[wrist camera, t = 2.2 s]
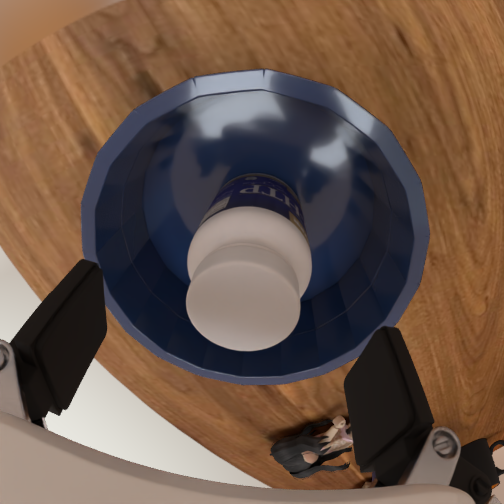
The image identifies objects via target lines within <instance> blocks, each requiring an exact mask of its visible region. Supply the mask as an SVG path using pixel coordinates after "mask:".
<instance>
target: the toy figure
mask: <svg viewBox="0 0 504 504" xmlns="http://www.w3.org/2000/svg"><path fill="white" fill-rule="evenodd" d="M322 420H323V419H322ZM331 421H332V422H333V423H334V425H333V426H332V427H331V428H330V429H329V430H328V431H327V432H325V433H322V434H319V435H316V436H314V437H313V436H311V434H312V433H313V432H314V431H317V430H314V431H313V432H312V433H311V434H309V435H307V434H308V433H309V432H310V431H311V430H312V429H313V428H314V427H320V426H324V425H326V424H328V423H331ZM311 423H313V422H311ZM345 423H346V420H345V419H344V418H343V417H342V416H341V415H339V416H337V417H336V418H334V420H328V419H327V420H326V419H325V420H324V421H322V422H320V423H314V424H310V425H308V426H307V427H305V429H304V430H303V429H302V430H303V431H302V430H301V431H302V433H301V434H299V435H295V434H294V435H295V436H291V437H286V436H284V437H286V438H283V439H281V440H279V441H277V442H276V443H275V444H274V445H273V446H272V448H271V454H270V455H272V456H273V457H274V459H275V460H276V461H277V462H278V463H280V464H281V465H283V467H284V468H285V469H286V470H287V471H289V472H290V474H291V475H292V476H293V477H296V478H305V477H308V476H310V475H312V474H314V473H316V472H318V471H320V470H326V471H336V470H344V469H346V468H348V467H349V465H350V462H349V464H348V463H347V465H346V463H345V464H344V465H341V466H329V465H322V466H320V465H321V464H322V463H323V462H325V461H327V460H331V459H334V458H336V457H338V456H339V455H341V454H342V453H344V452H350V451H352V447H351V448H347V447H348V446H350V445H351V444H353V439H352V432H351V426H350V423H349V424H348V425H345ZM308 424H309V423H308ZM305 426H306V425H305ZM289 436H290V435H289ZM281 438H282V437H281ZM279 439H280V438H279ZM329 473H330V472H329ZM334 473H335V472H334ZM308 478H309V477H308ZM305 479H306V478H305ZM296 480H297V479H296ZM302 480H303V479H302Z"/></svg>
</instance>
